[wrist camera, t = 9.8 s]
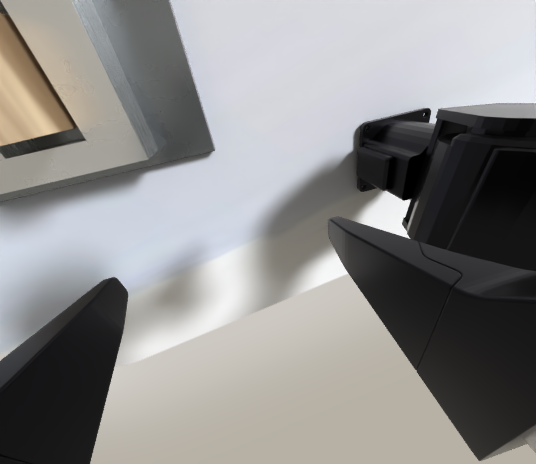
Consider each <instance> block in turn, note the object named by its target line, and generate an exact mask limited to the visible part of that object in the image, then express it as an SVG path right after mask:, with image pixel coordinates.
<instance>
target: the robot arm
mask: <svg viewBox="0 0 536 464" xmlns="http://www.w3.org/2000/svg"><path fill="white" fill-rule="evenodd" d="M424 113H425V115H424V116H423V114H424ZM430 115H431V110H430V109H429V108H422V109H418V110H414V111H410V112H406V113H401V114H397V115H393V116H389V117H385V118H381V119H376V120H372V121H368V122H365V123H363V124H362V126H361V128H360V144H359V150H358V162H357V176H358V184H357V188H358V190H360V191H361V192H364V191H368V190H372V189H375V188H379V189H381V190H382V191H388V192H389V193H391V194H393V195H395V196H396V197H398V198H400V199H402V200H408V199H410V200H411V202H410V205H409V208H408V211H407V214H406V217H405V218H404V219H403V222H402V225H403V226H404V228H405V229H406V231H407V234H408V236H409V237H410V239H409V238H405V237H402V236H399V235H396V234H392V233H389V232H386V231H383V230H380V229H376V228H373V227H370V226H367V225H364V224H360V223H357V222H354V221H351V220H347V219H344V218H341V217H334V218H331V219H329V221H328V233H329V239H330V241H331V243H332V245H333V247H334V249H335V250H336V252H337V254H338V256H339V258H340V260H341V262H342V264H343V265H344V267H345V269H346V270H347V272H348V273H349V275H350V276H351V277H352V279H353V280H354V282H355V283H356V285H357V286H358V288H359V289H360V291H361V292H362V293H363V295H364V296H365V298H366V299H367V301H368V302H369V303H370V305H371V306H372V308H373V309H374V311H375V312H376V314H377V315H378V316H379V318H380V319H381V321H382V322H383V323H384V325H385V327H386V328H387V329H388V331H389V332H390V334H391V335H392V337H393V338H394V339H395V341H396V342H397V344H398V345H399V347H400V348H401V350H402V351H403V352H404V354H405V355H406V357H407V358H408V360H409V361H410V363H411V364H412V365H413V367H414V368H415V370H417V373H418V374H419V376H420V377H421V379H422V380H423V381H424V383H425V384H426V386H427V387H428V389H429V390H430V392H431V393H432V394H433V396H434V397H435V399H436V400H437V402H438V403H439V404H440V406H441V407H442V409H443V410H444V412H445V413H446V415H447V416H448V418H449V419H450V420H451V422H452V423H453V425H454V426H455V428H456V429H457V431H458V432H459V433H460V435H461V436H462V437H463V439H464V441H465V442H466V443H467V445H468V446H469V448H470V449H471V451H472V452H473V453H474V455H475V456H476V457H477V459H478V460H479V461H481V460H485V459H487V458H490V457H493V456H495V455H498V454H501V453H503V452H506V451H509V450H512V449H515V448H517V447H520V446H523V445H525V444H528V445H529V446H530V447H531V448H532V449H533V450H534V452H535V453H536V104H534V103H496V104H485V105H474V106H463V107H452V108H440V109H438V112H437V115H436V118H437V121H436V124H432V123H429V120H430ZM367 126H368V130H367V131H366V130H365V129H366V127H367ZM363 185H364V187H363V188H362V186H363ZM127 302H128V292H127V290H126V289H125V287H124V286H123V285H122V284H121V282H120V281H119V280H118V279H117V278H115V277H112V278H108V279H105V280H103V281H101V282H100V283H99V284H97V285H96V286H95V287H94V288H92V289H91V290H90V291H89V292H87V293H86V294H85V295H83V296H82V297H81V298H80V299H78V300H77V301H76V302H75V303H73V304H72V305H71V306H69V307H68V308H67V309H66V310H64V311H63V312H62V313H61V314H59V315H58V316H57V317H55V318H54V319H53V320H52V321H50V322H49V323H48V324H47V325H45V326H44V327H43V328H41V329H40V330H39V331H38V332H36V333H35V334H34V335H33V336H31V337H30V338H29V339H27V340H26V341H25V342H24V343H22V344H21V345H20V346H19V347H17V348H16V349H15V350H13V351H12V352H11V353H10V354H8V355H7V356H6V357H5V358H3V359H2V360H1V361H0V464H90V461H91V457H92V453H93V449H94V445H95V441H96V437H97V433H98V429H99V426H100V422H101V418H102V414H103V410H104V406H105V402H106V398H107V394H108V390H109V386H110V382H111V378H112V374H113V370H114V366H115V362H116V358H117V354H118V351H119V347H120V343H121V339H122V334H123V330H124V324H125V316H126V309H127Z"/></svg>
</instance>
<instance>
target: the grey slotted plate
mask: <svg viewBox="0 0 536 464" xmlns="http://www.w3.org/2000/svg"><path fill="white" fill-rule="evenodd" d="M0 13H2V14H5V15H7V16H10V17H11V19H12V20H13V22H14V23H15V25H16V27H17V28H18V30H19V32H20V33H21V35H22V36H23V38H24V40H25V41H26V43H27V45H28V46H29V48H30V50H31V51H32V53H33V54H34V56H35V58H36V59H37V61H38V63H39V64H40V66H41V67H42V69H43V71H44V72H45V74H46V76H47V77H48V79H49V81H50V82H51V84H52V85H53V87H54V89H55V90H56V92H57V94H58V95H59V97H60V98H61V100H62V102H63V103H64V105H65V107H66V108H67V110H68V112H69V113H70V115H71V116H72V118H73V120H74V121H75V123H76V125H77V126H78V127H77V128H73V129H69V130H65V131H61V132H57V133H53V134H48V135H44V136H40V137H36V138H32V139H28V140H24V141H20V142H15V143H11V144H7V145H3V146H0V202H2V201H6V200H10V199H14V198H19V197H23V196H27V195H31V194H35V193H40V192H44V191H48V190H52V189H56V188H60V187H65V186H69V185H73V184H77V183H81V182H86V181H90V180H94V179H98V178H102V177H107V176H111V175H115V174H119V173H123V172H128V171H132V170H136V169H140V168H144V167H149V166H153V165H157V164H161V163H165V162H169V161H174V160H178V159H182V158H186V157H190V156H195V155H199V154H203V153H207V152H211V151H215V146H214V143H213V140H212V136H211V133H210V130H209V127H208V123H207V120H206V117H205V114H204V110H203V107H202V104H201V100H200V97H199V94H198V91H197V87H196V84H195V81H194V78H193V74H192V71H191V68H190V65H189V61H188V58H187V55H186V51H185V48H184V45H183V42H182V38H181V35H180V32H179V29H178V25H177V22H176V19H175V15H174V12H173V9H172V6H171V2H170V0H0Z"/></svg>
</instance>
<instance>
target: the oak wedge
mask: <svg viewBox="0 0 536 464" xmlns="http://www.w3.org/2000/svg"><path fill="white" fill-rule="evenodd" d="M77 127H78V126H77V125H76V123H75V121H74V120H73V118H72V116H71V115H70V113H69V112H68V110H67V108H66V107H65V105H64V103H63V102H62V100H61V98H60V97H59V95H58V94H57V92H56V90H55V89H54V87H53V85H52V84H51V82H50V81H49V79H48V77H47V76H46V74H45V72H44V71H43V69H42V67H41V66H40V64H39V63H38V61H37V59H36V58H35V56H34V54H33V53H32V51H31V50H30V48H29V46H28V45H27V43H26V41H25V40H24V38H23V36H22V35H21V33H20V32H19V30H18V28H17V27H16V25H15V23H14V22H13V20H12V19H11V17H10V16H7V15H5V14H2V13H0V146H3V145H7V144H11V143H15V142H20V141H24V140H28V139H32V138H36V137H40V136H44V135H48V134H53V133H57V132H61V131H65V130H69V129H73V128H77Z"/></svg>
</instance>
